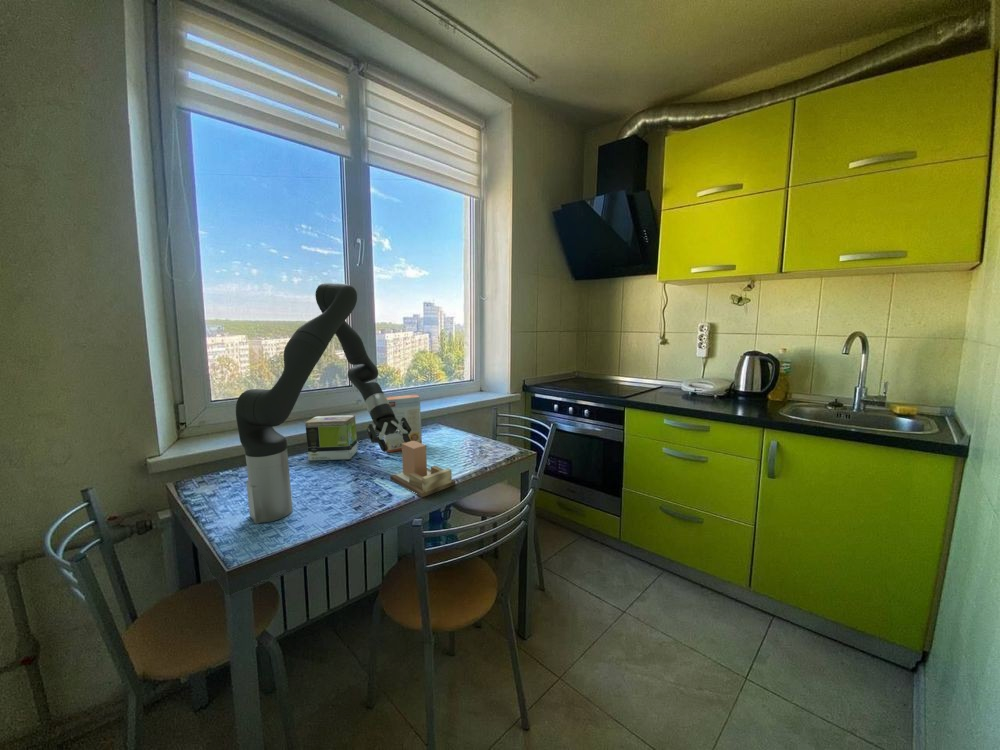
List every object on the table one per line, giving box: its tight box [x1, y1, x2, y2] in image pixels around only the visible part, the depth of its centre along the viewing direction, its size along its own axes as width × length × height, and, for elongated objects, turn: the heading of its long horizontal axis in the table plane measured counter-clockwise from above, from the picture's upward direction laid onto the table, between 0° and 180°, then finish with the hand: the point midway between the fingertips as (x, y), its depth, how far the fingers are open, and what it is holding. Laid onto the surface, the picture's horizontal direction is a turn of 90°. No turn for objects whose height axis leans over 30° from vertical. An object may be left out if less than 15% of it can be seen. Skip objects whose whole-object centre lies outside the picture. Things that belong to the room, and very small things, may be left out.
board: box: [389, 465, 456, 498], centre depth 120 cm, size 12×18×5 cm, turn 45°
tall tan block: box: [401, 441, 428, 477], centre depth 122 cm, size 4×7×10 cm, turn 45°
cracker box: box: [383, 394, 423, 453], centre depth 151 cm, size 14×6×21 cm, turn 114°
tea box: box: [304, 414, 358, 461], centre depth 143 cm, size 15×10×15 cm, turn 94°
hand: (397, 447), depth 130 cm, fingers open, 8 cm apart
